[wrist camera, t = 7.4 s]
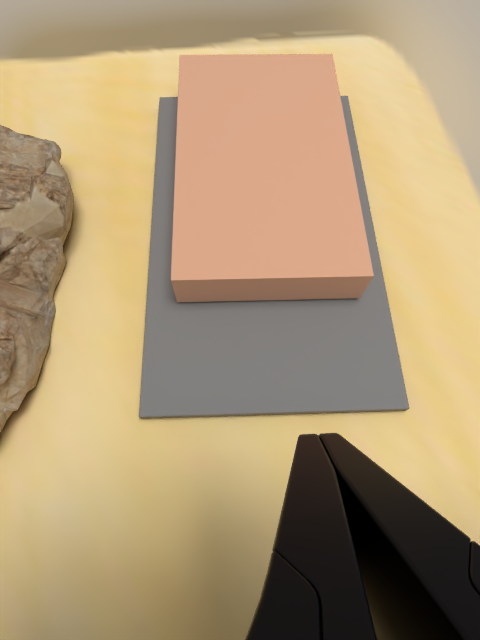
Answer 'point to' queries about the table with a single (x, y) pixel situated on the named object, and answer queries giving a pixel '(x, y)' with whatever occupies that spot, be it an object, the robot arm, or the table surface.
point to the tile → (264, 182)
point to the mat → (262, 331)
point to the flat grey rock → (29, 258)
